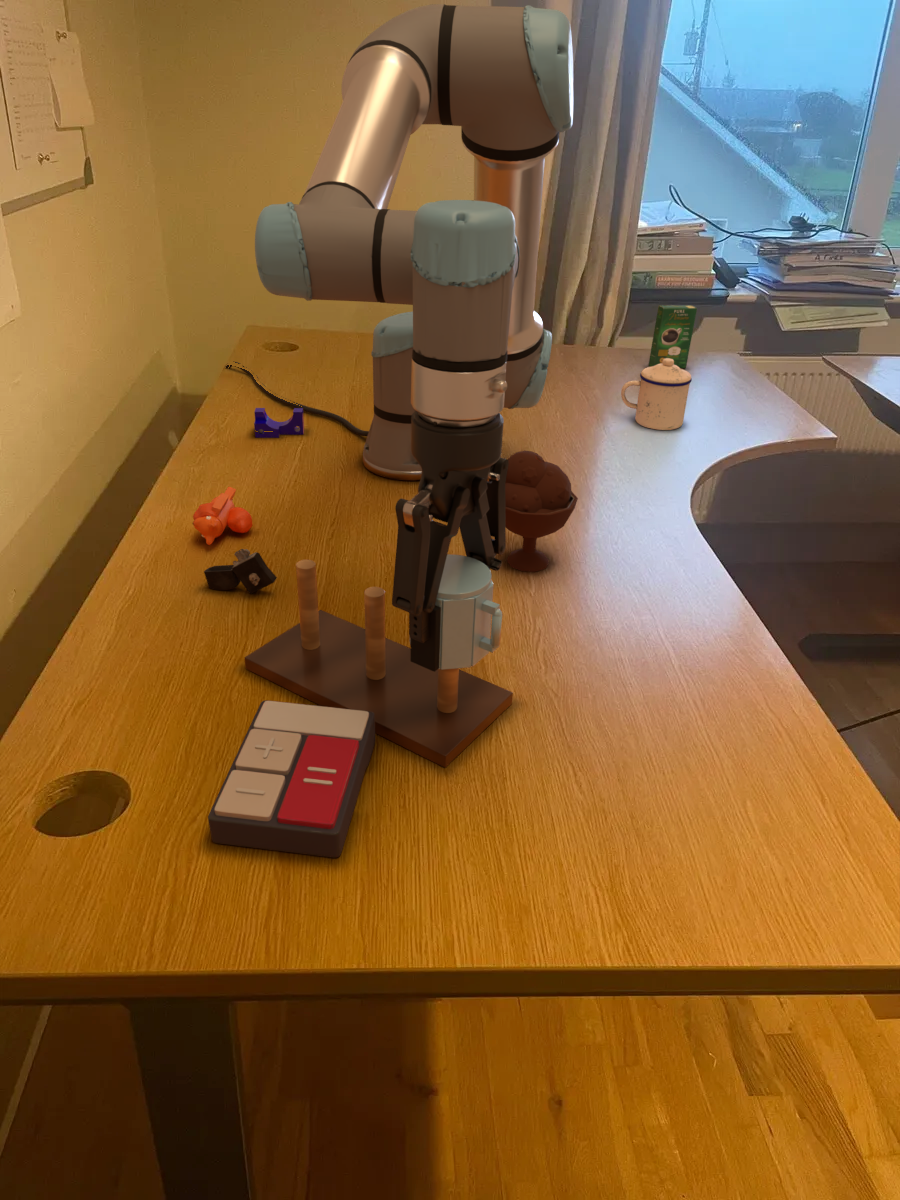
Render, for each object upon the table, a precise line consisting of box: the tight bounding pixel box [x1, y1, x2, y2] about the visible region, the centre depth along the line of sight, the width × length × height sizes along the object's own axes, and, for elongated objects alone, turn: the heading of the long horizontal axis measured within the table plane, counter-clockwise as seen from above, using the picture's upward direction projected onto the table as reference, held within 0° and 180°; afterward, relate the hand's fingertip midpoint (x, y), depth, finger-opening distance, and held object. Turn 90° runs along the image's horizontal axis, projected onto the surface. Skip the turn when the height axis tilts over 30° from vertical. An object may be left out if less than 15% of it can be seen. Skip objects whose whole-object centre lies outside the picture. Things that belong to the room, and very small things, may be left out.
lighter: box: [203, 548, 278, 595], centre depth 107 cm, size 8×2×5 cm
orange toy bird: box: [192, 486, 253, 546], centre depth 120 cm, size 5×8×12 cm
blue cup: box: [408, 553, 503, 670], centre depth 81 cm, size 9×7×8 cm
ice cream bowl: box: [505, 450, 579, 573], centre depth 113 cm, size 11×11×15 cm
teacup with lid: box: [620, 358, 693, 431], centre depth 160 cm, size 12×9×12 cm
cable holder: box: [253, 407, 305, 439], centre depth 152 cm, size 8×4×4 cm, turn 94°
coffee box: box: [648, 304, 698, 369], centre depth 189 cm, size 8×3×13 cm, turn 103°
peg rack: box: [244, 559, 514, 768], centre depth 90 cm, size 26×12×12 cm, turn 55°
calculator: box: [207, 700, 376, 859], centre depth 79 cm, size 11×4×15 cm
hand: (449, 644), depth 84 cm, fingers closed on blue cup, 7 cm apart
